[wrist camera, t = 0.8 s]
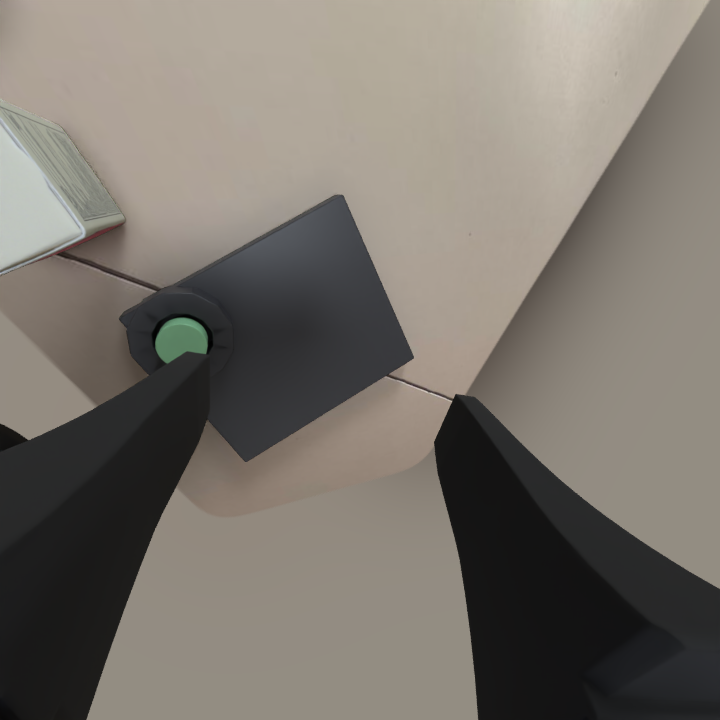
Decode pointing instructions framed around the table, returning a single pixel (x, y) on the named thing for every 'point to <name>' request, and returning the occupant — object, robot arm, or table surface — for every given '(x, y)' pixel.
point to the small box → (45, 191)
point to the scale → (282, 327)
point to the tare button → (180, 338)
